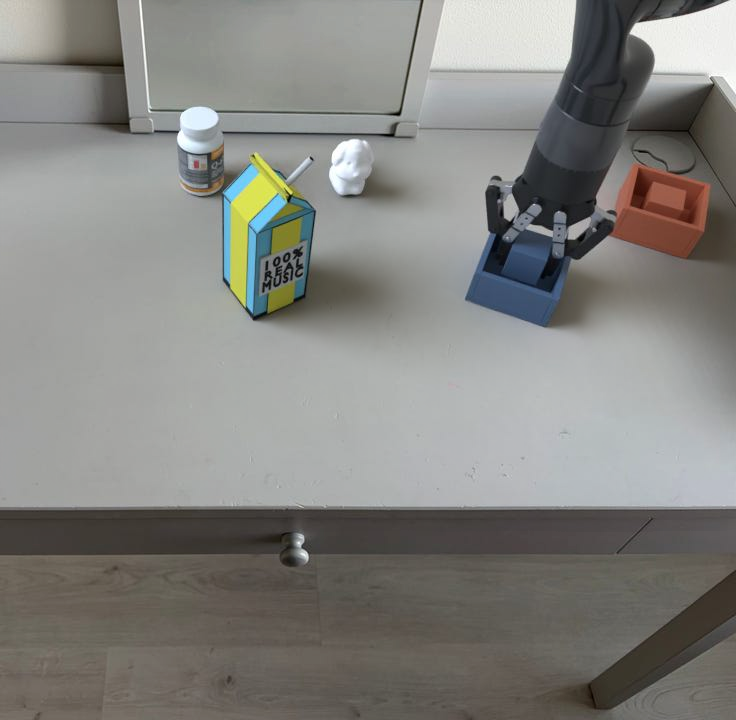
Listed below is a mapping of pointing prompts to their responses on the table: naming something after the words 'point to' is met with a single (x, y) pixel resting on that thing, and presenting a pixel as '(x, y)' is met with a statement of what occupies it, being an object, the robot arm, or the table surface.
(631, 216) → the terracotta bin
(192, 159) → the pill bottle
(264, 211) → the carton
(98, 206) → the table surface
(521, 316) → the slate bin
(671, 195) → the terracotta block
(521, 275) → the slate-blue block
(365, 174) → the figurine
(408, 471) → the table surface
